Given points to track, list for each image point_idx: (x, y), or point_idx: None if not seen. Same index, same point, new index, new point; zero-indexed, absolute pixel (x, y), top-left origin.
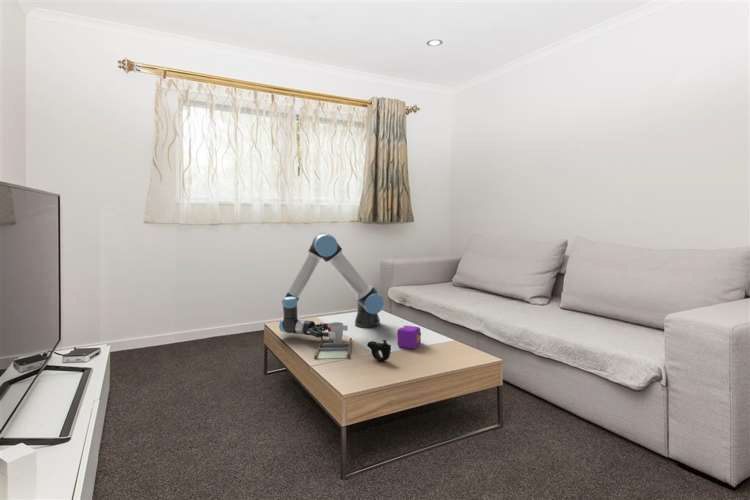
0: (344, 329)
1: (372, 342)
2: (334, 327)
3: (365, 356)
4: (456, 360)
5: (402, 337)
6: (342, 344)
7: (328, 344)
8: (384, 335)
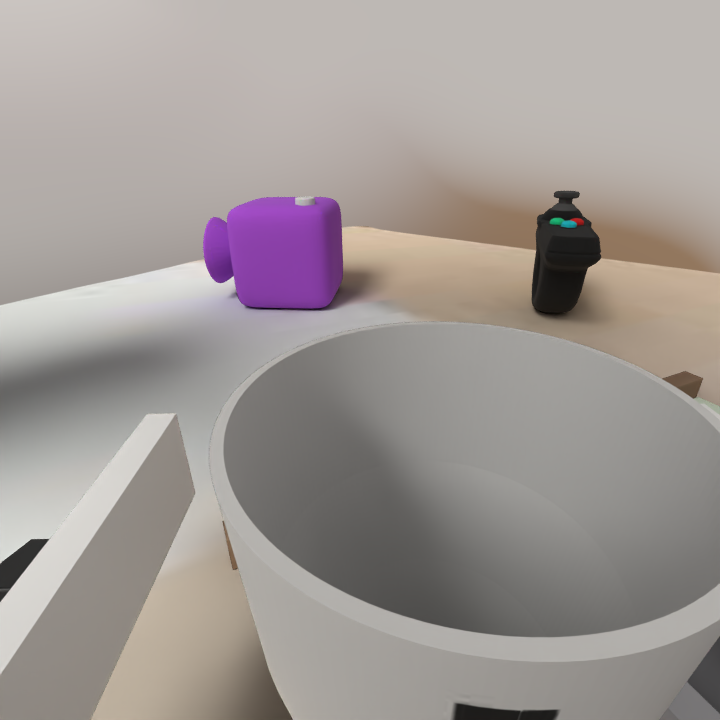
0: (170, 520)
1: (574, 233)
2: (622, 387)
3: None
4: (391, 243)
5: (335, 245)
6: None
7: (710, 712)
8: (63, 389)
